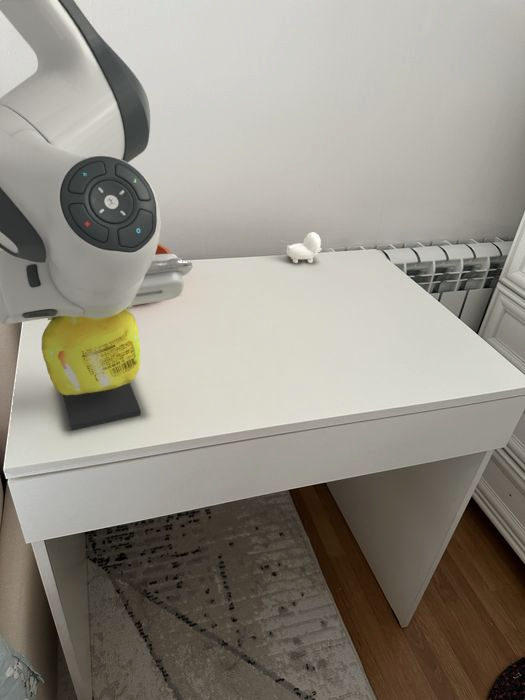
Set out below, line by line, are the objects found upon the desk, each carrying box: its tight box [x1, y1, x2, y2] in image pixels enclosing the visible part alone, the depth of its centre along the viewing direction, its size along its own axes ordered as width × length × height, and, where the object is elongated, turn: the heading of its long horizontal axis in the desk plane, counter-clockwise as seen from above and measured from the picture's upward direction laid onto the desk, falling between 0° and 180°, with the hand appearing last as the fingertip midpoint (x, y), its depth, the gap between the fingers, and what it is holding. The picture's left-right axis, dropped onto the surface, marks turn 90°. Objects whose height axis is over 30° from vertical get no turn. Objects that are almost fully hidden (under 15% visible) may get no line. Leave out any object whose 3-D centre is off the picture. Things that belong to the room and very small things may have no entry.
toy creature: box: [286, 231, 323, 264], centre depth 114 cm, size 5×8×6 cm, turn 102°
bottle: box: [41, 308, 141, 395], centre depth 66 cm, size 12×6×20 cm, turn 115°
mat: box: [62, 382, 142, 432], centre depth 73 cm, size 9×9×1 cm
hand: (89, 307), depth 66 cm, fingers closed on bottle, 7 cm apart
